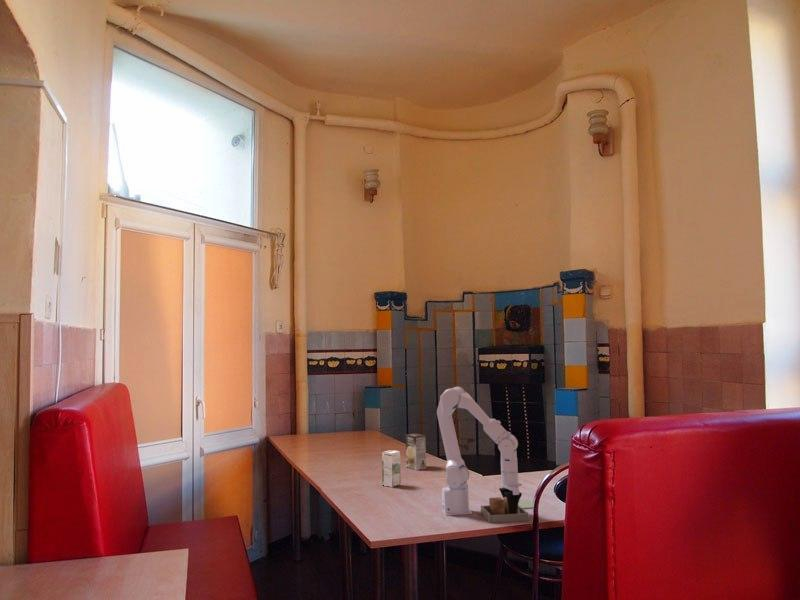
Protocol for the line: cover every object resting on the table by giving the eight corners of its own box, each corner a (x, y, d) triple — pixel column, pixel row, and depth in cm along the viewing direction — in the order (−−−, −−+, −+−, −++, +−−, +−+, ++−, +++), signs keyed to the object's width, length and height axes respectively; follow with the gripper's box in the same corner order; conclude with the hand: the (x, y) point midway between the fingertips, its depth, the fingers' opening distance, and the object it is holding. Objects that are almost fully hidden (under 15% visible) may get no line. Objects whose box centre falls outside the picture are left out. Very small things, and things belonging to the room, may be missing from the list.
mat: (513, 510, 210) (513, 508, 210) (506, 503, 219) (506, 501, 219) (537, 508, 211) (537, 506, 211) (529, 502, 220) (529, 500, 220)
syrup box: (390, 483, 256) (389, 449, 257) (401, 485, 252) (400, 450, 253) (382, 486, 251) (381, 451, 252) (392, 487, 247) (391, 453, 249)
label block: (507, 518, 200) (506, 499, 200) (503, 514, 204) (503, 496, 204) (518, 517, 200) (517, 499, 201) (515, 514, 204) (514, 496, 205)
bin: (490, 523, 195) (489, 515, 195) (481, 513, 207) (480, 505, 207) (528, 521, 196) (528, 513, 196) (517, 511, 208) (517, 503, 209)
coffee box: (405, 467, 288) (404, 434, 289) (416, 465, 291) (415, 433, 293) (416, 470, 280) (415, 436, 281) (427, 468, 284) (426, 435, 285)
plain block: (492, 518, 199) (492, 500, 200) (489, 515, 203) (489, 497, 204) (504, 518, 200) (503, 500, 200) (501, 514, 204) (500, 497, 204)
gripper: (527, 475, 196) (529, 516, 195) (514, 466, 211) (516, 504, 210) (506, 476, 196) (508, 517, 195) (495, 467, 210) (496, 506, 209)
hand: (511, 511), depth 202 cm, fingers open, 4 cm apart
